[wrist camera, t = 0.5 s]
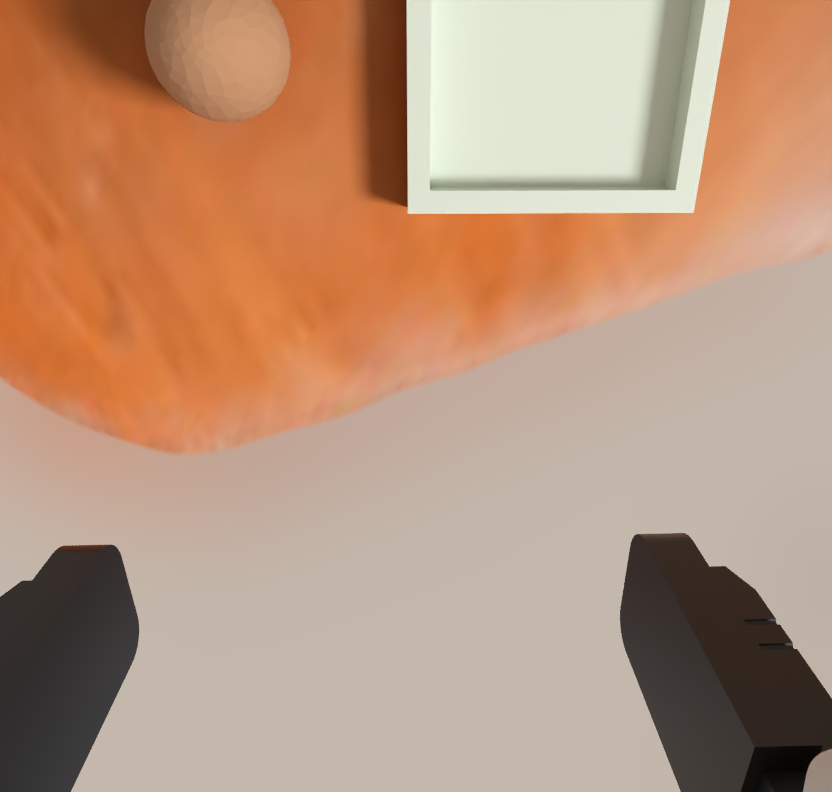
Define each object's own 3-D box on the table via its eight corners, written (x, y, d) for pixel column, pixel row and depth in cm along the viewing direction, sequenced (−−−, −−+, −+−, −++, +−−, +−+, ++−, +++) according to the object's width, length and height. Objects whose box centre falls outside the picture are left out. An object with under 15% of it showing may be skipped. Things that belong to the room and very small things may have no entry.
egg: (152, 46, 28) (79, 29, 22) (237, -49, 27) (184, -97, 21) (242, 146, 30) (199, 157, 24) (326, 61, 29) (304, 49, 22)
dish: (405, -131, 26) (405, -149, 24) (730, -130, 26) (755, -147, 24) (407, 207, 31) (407, 213, 29) (676, 206, 31) (693, 212, 30)
